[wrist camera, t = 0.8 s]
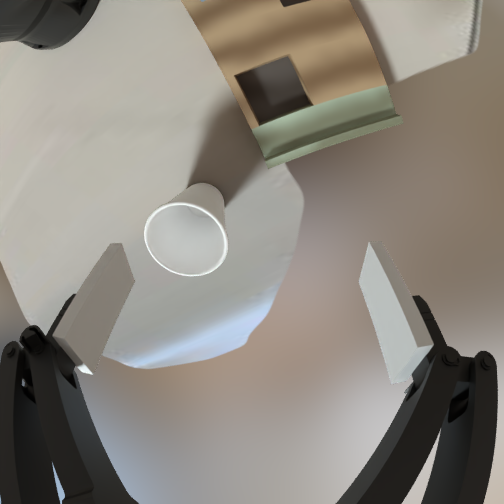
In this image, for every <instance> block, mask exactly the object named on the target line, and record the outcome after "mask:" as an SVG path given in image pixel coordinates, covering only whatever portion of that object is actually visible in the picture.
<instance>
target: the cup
mask: <svg viewBox="0 0 504 504" xmlns="http://www.w3.org/2000/svg"><path fill="white" fill-rule="evenodd" d="M144 238H145V243H146V246H147V248H148V250H149V252H150V254H151V255H152V257H153V258H154V259H155V260H156V261H157V262H158V263H159V264H160V265H162V266H163V267H164V268H166V269H168V270H169V271H171V272H174V273H177V274H180V275H184V276H201V275H204V274H208V273H210V272H212V271H214V270H215V269H216V268H218V267H219V266H220V265H221V264H222V262H223V261H224V259H225V257H226V255H227V252H228V248H229V242H228V236H227V232H226V225H225V210H224V199H223V196H222V194H221V193H220V191H219V190H218V189H217V188H216V187H214V186H212V185H210V184H207V183H197V184H194V185H192V186H190V187H189V188H187V189H186V190H184V191H183V192H182V193H180V194H179V195H177V196H176V197H175V198H173V199H172V200H171V201H169V202H168V203H166V204H163V205H161V206H159V207H158V208H157V209H155V210H154V211H153V212H152V213H151V215H150V216H149V218H148V220H147V222H146V225H145V229H144Z"/></svg>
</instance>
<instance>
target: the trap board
mask: <svg viewBox="0 0 504 504" xmlns="http://www.w3.org/2000/svg"><path fill="white" fill-rule="evenodd" d="M181 1H182V3H183V4H184V6H185V8H186V9H187V11H188V13H189V14H190V16H191V18H192V19H193V21H194V23H195V25H196V26H197V28H198V30H199V31H200V33H201V35H202V37H203V38H204V40H205V42H206V44H207V45H208V47H209V49H210V51H211V53H212V54H213V56H214V58H215V60H216V62H217V64H218V65H219V67H220V69H221V71H222V73H223V75H224V77H225V79H226V80H227V82H228V84H229V86H230V88H231V90H232V92H233V94H234V96H235V98H236V100H237V102H238V104H239V106H240V108H241V110H242V112H243V114H244V116H245V118H246V120H247V122H248V124H249V126H250V128H251V130H252V132H253V134H254V136H255V138H256V140H257V142H258V144H259V146H260V149H261V151H262V153H263V155H264V157H265V162H266V165H267V167H268V169H269V168H272V167H274V166H277V165H280V164H282V163H285V162H287V161H290V160H293V159H295V158H298V157H300V156H303V155H306V154H309V153H311V152H314V151H317V150H320V149H323V148H326V147H328V146H332V145H334V144H337V143H340V142H343V141H346V140H349V139H353V138H356V137H359V136H362V135H365V134H368V133H372V132H375V131H378V130H382V129H385V128H388V127H392V126H395V125H399V124H403V120H402V117H401V115H397V114H396V112H395V109H394V105H393V102H392V99H391V96H390V93H389V90H388V87H387V84H386V81H385V78H384V75H383V73H382V70H381V67H380V65H379V62H378V60H377V57H376V55H375V53H374V50H373V48H372V45H371V43H370V41H369V39H368V37H367V34H366V32H365V30H364V28H363V26H362V24H361V22H360V20H359V18H358V16H357V14H356V12H355V10H354V8H353V7H352V5H351V3H350V1H349V0H205V1H203V2H201V0H181Z"/></svg>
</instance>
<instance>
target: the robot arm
mask: <svg viewBox="0 0 504 504" xmlns="http://www.w3.org/2000/svg"><path fill="white" fill-rule="evenodd" d="M98 1H99V0H0V42H7V41H19V42H21V43H23V44H25V45H28V46H30V47H32V48H34V49H39V50H47V49H55V48H58V47H60V46H62V45H64V44H66V43H67V42H69V41H70V40H71V39H72V38H74V37H75V36H76V35H77V34H78V33H79V32H80V31H81V30H82V28H83V27H84V26H85V25H86V23H87V22H88V21H89V19H90V18H91V16H92V14H93V12H94V11H95V9H96V6H97V4H98ZM134 283H135V280H134V277H133V274H132V272H131V269H130V266H129V263H128V260H127V257H126V254H125V252H124V249H123V246H122V243H113V244H110V245H109V246H108V248H107V249H106V251H105V252H104V253H103V255H102V256H101V258H100V259H99V261H98V262H97V263H96V265H95V266H94V268H93V269H92V271H91V272H90V274H89V275H88V277H87V278H86V280H85V281H84V283H83V284H82V286H81V288H80V289H79V291H78V292H77V294H73V295H72V296H71V297H70V298H69V299H68V300H67V301H66V302H65V304H64V306H63V307H62V310H61V311H60V312H59V314H58V316H57V317H56V319H55V321H54V322H53V324H52V326H51V328H50V330H49V331H48V333H47V335H46V336H45V335H44V333H43V332H42V331H41V329H40V328H39V327H38V326H37V325H32V326H29V327H28V328H26V329H25V330H24V331H23V333H22V334H21V336H20V343H21V344H22V345H23V346H24V348H22V347H21V346H20V345H19V344H18V343H17V342H16V341H12V342H10V343H8V344H7V345H6V346H5V348H4V350H3V353H2V357H1V363H0V496H1V504H60V500H59V496H58V492H57V487H56V483H55V478H54V472H53V466H52V462H53V465H54V468H55V470H56V473H57V476H58V478H59V480H60V483H61V485H62V488H63V490H64V493H65V498H64V499H63V500H62V504H139V503H138V502H137V501H135V500H134V499H133V498H132V497H131V496H130V495H129V494H128V492H127V491H126V489H125V487H124V486H123V484H122V482H121V480H120V479H119V477H118V475H117V473H116V471H115V469H114V467H113V466H112V463H111V461H110V459H109V457H108V455H107V453H106V451H105V449H104V447H103V445H102V442H101V440H100V438H99V436H98V434H97V431H96V429H95V426H94V424H93V422H92V419H91V416H90V414H89V411H88V408H87V405H86V402H85V400H84V397H83V394H82V391H81V388H80V384H79V381H78V378H77V374H76V373H75V371H74V368H75V366H77V367H78V368H79V369H80V370H81V372H84V373H88V374H92V375H94V373H95V370H96V368H97V365H98V363H99V360H100V358H101V355H102V353H103V350H104V348H105V345H106V343H107V341H108V338H109V336H110V334H111V332H112V329H113V327H114V325H115V323H116V320H117V318H118V316H119V314H120V312H121V309H122V307H123V305H124V303H125V301H126V299H127V297H128V295H129V293H130V291H131V289H132V287H133V285H134ZM359 284H360V287H361V290H362V292H363V295H364V298H365V301H366V304H367V306H368V309H369V312H370V315H371V318H372V321H373V324H374V327H375V330H376V334H377V337H378V340H379V343H380V347H381V350H382V353H383V357H384V360H385V364H386V367H387V371H388V375H389V378H390V382H391V384H396V383H401V382H405V381H407V380H408V378H409V377H410V376H411V375H412V377H413V380H414V381H413V383H412V384H411V385H410V386H409V387H408V388H407V389H406V391H405V392H404V393H407V394H406V396H405V398H404V401H403V403H402V404H401V406H400V408H399V410H398V412H397V414H396V416H395V418H394V420H393V421H392V423H391V425H390V427H389V429H388V430H387V432H386V434H385V435H384V437H383V439H382V440H381V442H380V444H379V445H378V447H377V448H376V450H375V452H374V453H373V455H372V456H371V458H370V459H369V461H368V462H367V464H366V465H365V467H364V468H363V469H362V471H361V472H360V474H359V475H358V477H357V478H356V479H355V480H354V482H353V483H352V484H351V486H350V487H349V488H348V490H347V491H346V492H345V493H344V494H343V496H342V497H341V498H340V499H339V501H338V502H337V503H336V504H401V503H402V502H403V501H404V499H405V497H406V496H407V494H408V492H409V491H410V489H411V487H412V486H413V484H414V482H415V481H416V479H417V477H418V475H419V473H420V472H421V470H422V468H423V466H424V464H425V462H426V460H427V458H428V456H429V454H430V452H431V450H432V448H433V445H434V443H435V441H436V439H437V436H438V434H439V431H440V429H441V432H440V437H439V442H438V447H437V451H436V456H435V460H434V464H433V468H432V471H431V475H430V478H429V482H428V485H427V488H426V491H425V494H424V497H423V500H422V503H421V504H483V502H484V499H485V495H486V491H487V487H488V483H489V478H490V473H491V468H492V462H493V455H494V448H495V439H496V428H497V408H498V405H497V404H498V389H497V388H498V384H497V365H496V361H495V359H494V357H493V356H492V355H491V354H490V353H489V352H487V351H480V352H479V353H478V354H477V355H476V356H475V357H474V358H472V357H463V356H460V354H459V353H458V351H456V350H455V349H454V348H452V347H449V346H447V344H446V342H445V340H444V338H443V335H442V333H441V331H440V329H439V327H438V325H437V323H436V321H435V320H434V319H435V318H434V316H433V314H432V313H431V310H430V308H429V306H428V305H427V303H426V302H425V301H424V300H423V299H422V298H421V297H420V296H419V295H418V296H411V294H410V292H409V290H408V288H407V286H406V284H405V282H404V280H403V278H402V276H401V275H400V273H399V271H398V269H397V267H396V265H395V263H394V262H393V260H392V258H391V256H390V255H389V253H388V251H387V249H386V248H385V246H384V244H383V243H382V242H376V241H375V242H374V241H373V242H372V241H369V244H368V248H367V252H366V256H365V260H364V264H363V268H362V271H361V275H360V279H359ZM22 380H23V381H24V382H25V386H22Z"/></svg>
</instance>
